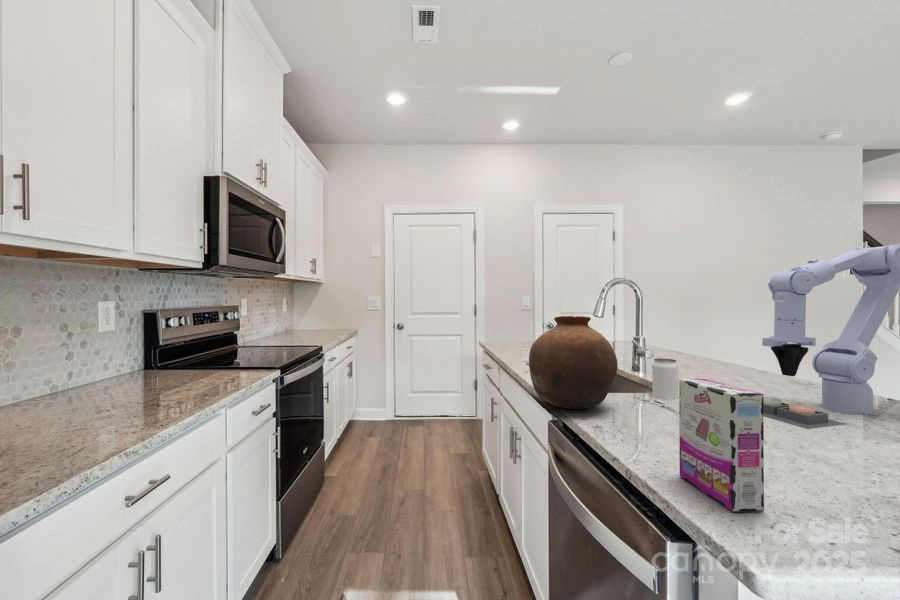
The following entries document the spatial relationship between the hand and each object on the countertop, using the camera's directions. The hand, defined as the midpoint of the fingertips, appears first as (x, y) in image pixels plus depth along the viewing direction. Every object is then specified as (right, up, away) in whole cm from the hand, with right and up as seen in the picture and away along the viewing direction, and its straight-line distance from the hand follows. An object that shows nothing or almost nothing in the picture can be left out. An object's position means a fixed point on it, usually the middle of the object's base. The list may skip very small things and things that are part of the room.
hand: (788, 375), depth 93 cm
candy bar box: (-42, -11, -35) cm, 56 cm away
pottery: (-50, -11, +11) cm, 52 cm away
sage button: (-4, -8, +1) cm, 9 cm away
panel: (-4, -10, +1) cm, 11 cm away
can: (-22, -11, +15) cm, 29 cm away
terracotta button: (-2, -8, -6) cm, 10 cm away
